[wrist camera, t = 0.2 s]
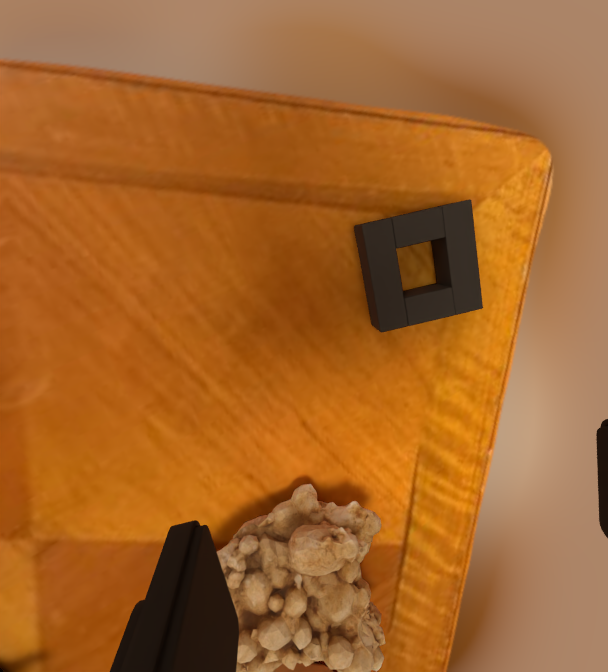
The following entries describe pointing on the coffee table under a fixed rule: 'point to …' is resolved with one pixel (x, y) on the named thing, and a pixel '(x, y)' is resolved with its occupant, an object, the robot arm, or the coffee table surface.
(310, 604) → the mineral formation
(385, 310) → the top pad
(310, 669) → the hamburger
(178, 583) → the robot arm
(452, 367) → the coffee table surface
